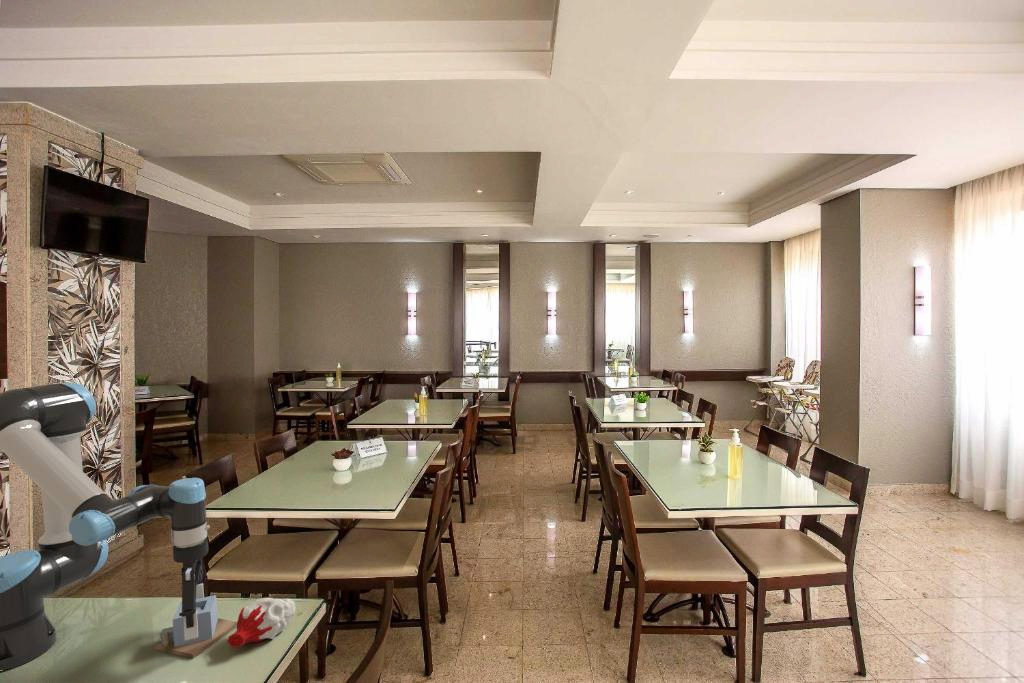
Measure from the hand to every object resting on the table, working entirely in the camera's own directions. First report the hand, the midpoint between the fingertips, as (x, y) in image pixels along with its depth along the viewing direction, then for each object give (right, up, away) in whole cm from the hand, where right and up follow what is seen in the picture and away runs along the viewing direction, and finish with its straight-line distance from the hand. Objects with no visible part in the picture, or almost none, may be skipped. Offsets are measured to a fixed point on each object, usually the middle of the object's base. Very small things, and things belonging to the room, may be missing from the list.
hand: (195, 623), depth 128 cm
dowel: (-4, -4, -4) cm, 7 cm away
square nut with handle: (-1, -3, -1) cm, 3 cm away
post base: (+1, -4, 0) cm, 4 cm away
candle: (+17, -3, -1) cm, 17 cm away
